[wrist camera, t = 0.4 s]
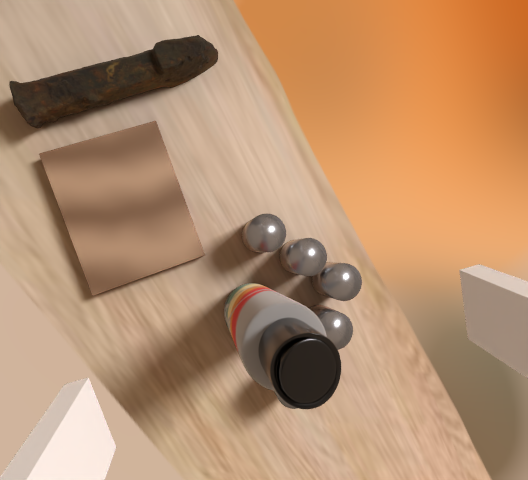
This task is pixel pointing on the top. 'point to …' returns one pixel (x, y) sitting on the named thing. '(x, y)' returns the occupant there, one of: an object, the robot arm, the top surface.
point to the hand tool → (113, 79)
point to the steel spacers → (308, 273)
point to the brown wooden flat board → (122, 206)
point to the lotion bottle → (283, 345)
